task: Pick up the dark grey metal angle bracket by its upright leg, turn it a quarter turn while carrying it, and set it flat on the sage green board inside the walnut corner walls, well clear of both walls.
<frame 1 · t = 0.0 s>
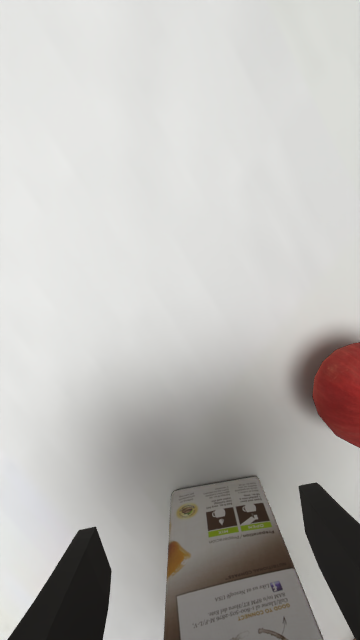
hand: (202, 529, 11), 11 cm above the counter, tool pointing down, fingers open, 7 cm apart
coffee box: (223, 540, 23), on the counter
red round fruit: (336, 375, 22), on the counter
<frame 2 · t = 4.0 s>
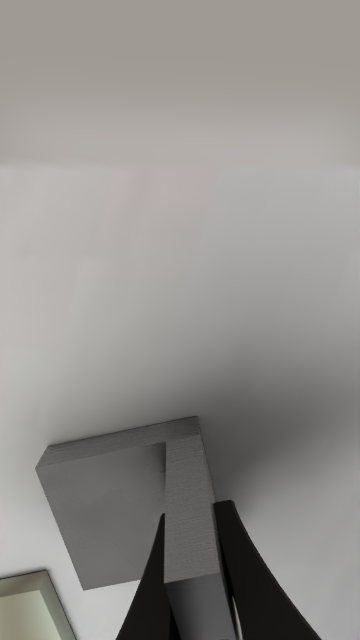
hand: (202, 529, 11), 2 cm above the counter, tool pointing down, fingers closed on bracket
bracket: (140, 493, 13), on the counter, touching gripper
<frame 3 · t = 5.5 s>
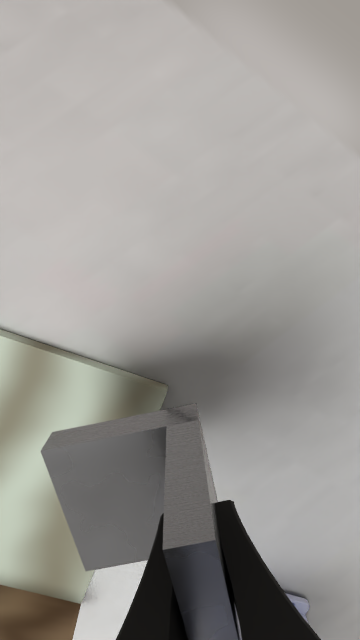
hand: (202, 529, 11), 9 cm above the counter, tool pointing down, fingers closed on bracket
bracket: (141, 478, 14), point 7 cm above the counter, touching gripper
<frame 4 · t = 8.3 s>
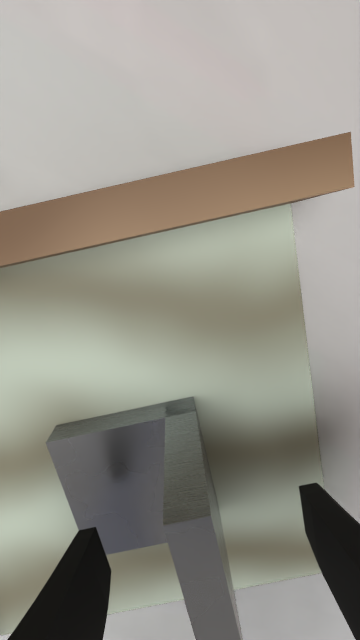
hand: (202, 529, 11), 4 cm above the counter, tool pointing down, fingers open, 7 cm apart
bracket: (141, 468, 14), point 1 cm above the counter, touching arena
arena: (117, 447, 15), on the counter
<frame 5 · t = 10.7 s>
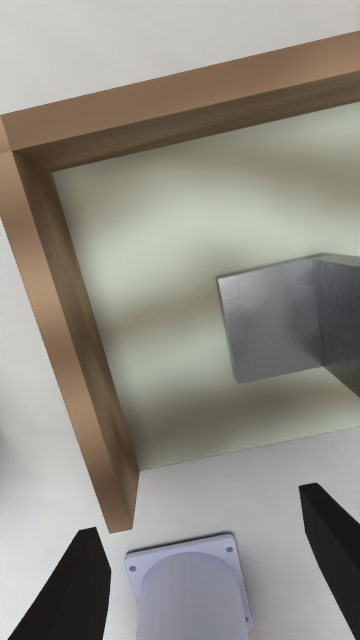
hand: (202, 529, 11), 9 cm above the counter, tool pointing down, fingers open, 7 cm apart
bracket: (276, 316, 18), point 1 cm above the counter, touching arena
arena: (253, 303, 19), on the counter
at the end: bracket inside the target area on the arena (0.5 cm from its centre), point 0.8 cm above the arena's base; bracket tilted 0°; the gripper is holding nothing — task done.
